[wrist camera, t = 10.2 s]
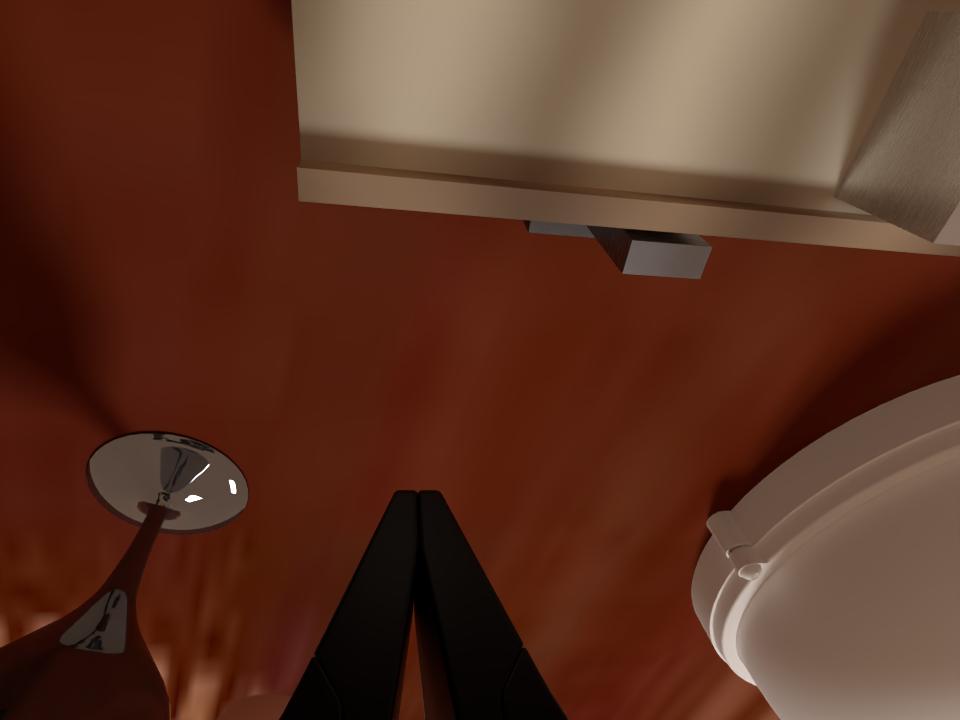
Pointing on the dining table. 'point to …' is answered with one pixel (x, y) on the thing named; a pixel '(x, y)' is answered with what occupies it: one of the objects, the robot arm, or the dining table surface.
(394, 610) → the robot arm
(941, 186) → the steel block
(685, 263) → the pivot stand
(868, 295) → the dining table surface
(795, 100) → the beam
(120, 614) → the wine glass
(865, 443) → the dome cover
